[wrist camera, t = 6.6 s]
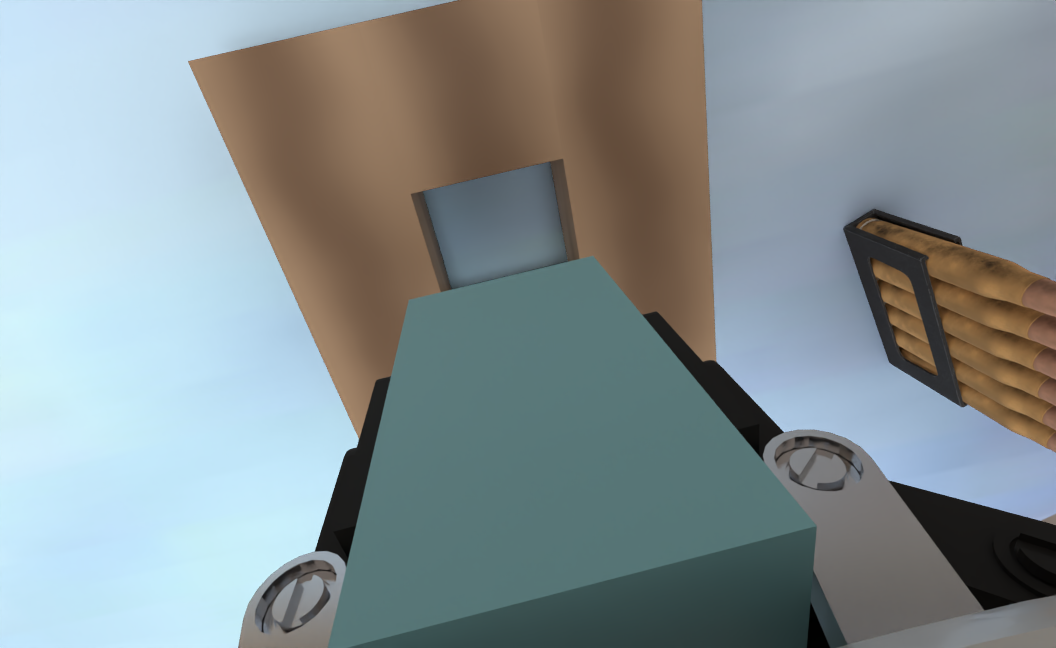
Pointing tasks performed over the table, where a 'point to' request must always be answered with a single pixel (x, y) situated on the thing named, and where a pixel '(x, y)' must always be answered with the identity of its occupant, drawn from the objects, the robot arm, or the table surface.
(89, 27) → the table surface
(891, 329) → the ammunition clip
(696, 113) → the socket block
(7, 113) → the table surface
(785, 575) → the peg
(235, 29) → the table surface
